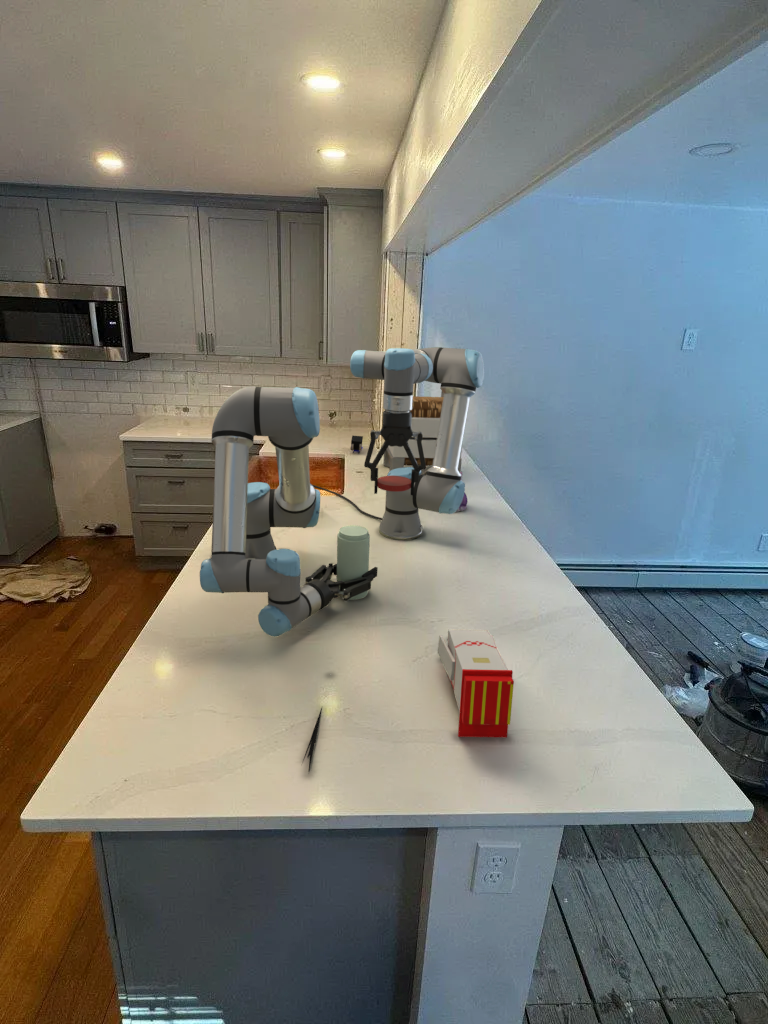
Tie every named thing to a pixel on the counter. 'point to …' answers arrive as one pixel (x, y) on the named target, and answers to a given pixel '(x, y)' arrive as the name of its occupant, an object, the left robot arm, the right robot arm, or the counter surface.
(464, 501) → the figurine
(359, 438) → the figurine character
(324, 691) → the counter surface
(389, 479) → the lid
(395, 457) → the grey slatted crate
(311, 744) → the feather
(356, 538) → the jar
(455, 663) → the toy
